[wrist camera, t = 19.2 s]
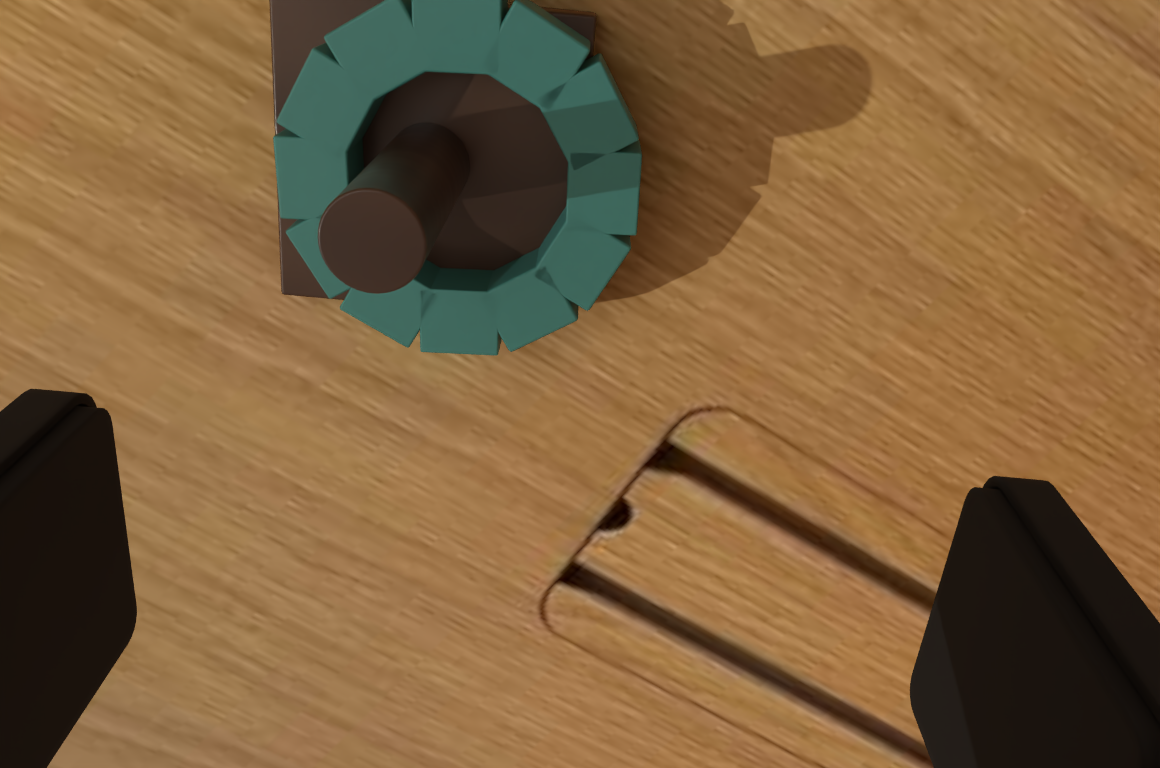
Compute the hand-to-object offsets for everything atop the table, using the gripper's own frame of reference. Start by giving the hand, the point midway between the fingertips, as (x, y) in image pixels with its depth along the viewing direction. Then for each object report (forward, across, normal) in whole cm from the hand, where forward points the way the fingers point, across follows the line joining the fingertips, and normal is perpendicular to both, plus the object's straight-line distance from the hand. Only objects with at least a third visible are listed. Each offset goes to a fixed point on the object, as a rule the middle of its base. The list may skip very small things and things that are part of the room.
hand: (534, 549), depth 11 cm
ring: (+20, +3, +1) cm, 20 cm away
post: (+21, +4, +1) cm, 21 cm away
